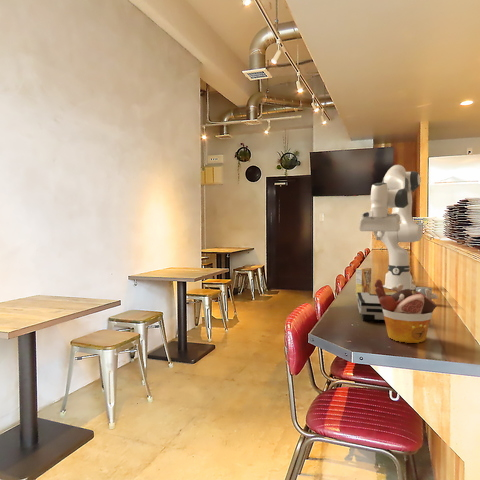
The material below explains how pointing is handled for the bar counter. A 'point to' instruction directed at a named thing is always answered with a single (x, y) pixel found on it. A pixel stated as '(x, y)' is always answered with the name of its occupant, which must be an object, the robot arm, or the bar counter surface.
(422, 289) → the grey small irregular piece
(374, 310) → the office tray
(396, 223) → the robot arm
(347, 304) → the bar counter surface
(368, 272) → the candy box
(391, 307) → the bucket of meat
